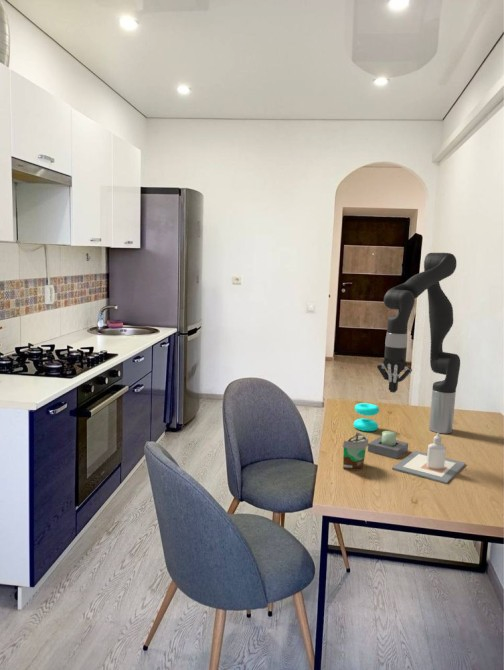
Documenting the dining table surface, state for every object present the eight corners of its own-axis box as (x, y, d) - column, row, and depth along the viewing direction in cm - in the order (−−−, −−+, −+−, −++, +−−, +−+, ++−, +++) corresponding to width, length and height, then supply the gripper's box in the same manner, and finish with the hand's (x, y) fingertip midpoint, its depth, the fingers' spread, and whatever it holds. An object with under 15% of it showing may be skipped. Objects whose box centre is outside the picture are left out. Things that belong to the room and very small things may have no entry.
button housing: (379, 443, 202) (380, 436, 202) (407, 450, 196) (408, 443, 195) (367, 451, 193) (368, 443, 193) (396, 458, 187) (397, 450, 186)
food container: (359, 474, 171) (361, 445, 170) (341, 470, 174) (343, 441, 173) (371, 463, 182) (373, 435, 180) (354, 459, 185) (356, 431, 183)
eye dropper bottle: (442, 471, 175) (445, 436, 173) (425, 467, 177) (428, 433, 176) (444, 467, 178) (447, 433, 177) (427, 463, 181) (430, 430, 179)
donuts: (384, 407, 217) (364, 409, 213) (382, 431, 218) (362, 433, 214) (369, 401, 226) (350, 403, 222) (368, 424, 227) (348, 426, 223)
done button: (384, 445, 198) (385, 430, 197) (397, 448, 195) (398, 433, 194) (378, 449, 194) (380, 433, 193) (391, 452, 191) (393, 436, 190)
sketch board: (414, 452, 194) (414, 450, 194) (465, 464, 184) (465, 462, 184) (392, 469, 177) (392, 467, 177) (446, 483, 166) (446, 481, 166)
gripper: (417, 346, 189) (414, 393, 192) (382, 342, 197) (379, 387, 199) (410, 348, 183) (406, 397, 186) (374, 344, 191) (371, 390, 193)
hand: (392, 391), depth 192 cm, fingers closed
